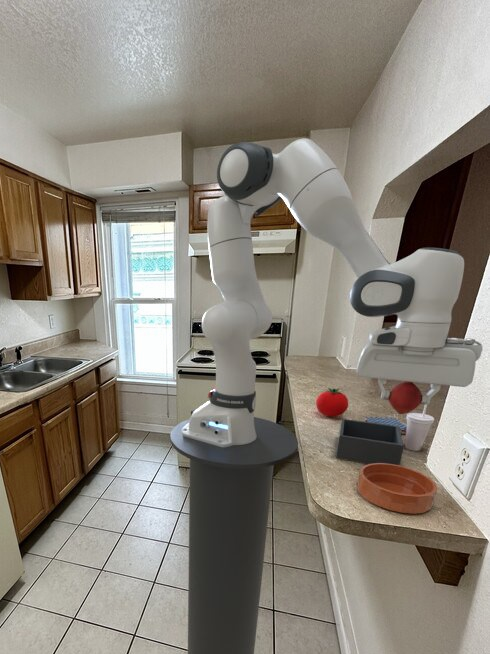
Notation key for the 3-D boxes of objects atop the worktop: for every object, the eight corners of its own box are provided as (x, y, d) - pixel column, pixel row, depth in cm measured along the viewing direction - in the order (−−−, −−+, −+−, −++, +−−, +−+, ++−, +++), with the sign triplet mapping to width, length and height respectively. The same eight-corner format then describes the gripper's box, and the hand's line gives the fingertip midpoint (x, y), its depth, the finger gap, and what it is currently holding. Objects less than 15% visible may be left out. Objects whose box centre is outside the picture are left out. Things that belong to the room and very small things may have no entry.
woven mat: (375, 433, 111) (376, 427, 111) (362, 421, 121) (363, 416, 120) (410, 435, 110) (412, 429, 109) (395, 422, 120) (396, 417, 119)
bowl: (356, 504, 76) (360, 486, 74) (357, 474, 88) (360, 458, 86) (437, 522, 70) (443, 503, 68) (426, 488, 81) (430, 470, 80)
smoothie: (425, 454, 97) (438, 406, 92) (398, 449, 101) (409, 402, 96) (426, 446, 102) (439, 400, 97) (400, 441, 106) (411, 396, 101)
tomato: (349, 421, 121) (354, 393, 118) (317, 420, 123) (321, 392, 120) (341, 411, 131) (346, 385, 127) (311, 410, 133) (315, 384, 129)
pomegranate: (404, 409, 80) (413, 374, 77) (423, 418, 74) (433, 381, 72) (379, 409, 80) (387, 375, 77) (396, 419, 74) (405, 382, 71)
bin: (335, 458, 96) (339, 435, 94) (338, 438, 108) (341, 418, 106) (398, 469, 90) (404, 445, 88) (393, 447, 102) (398, 426, 100)
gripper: (480, 337, 69) (460, 403, 74) (363, 331, 78) (351, 391, 83) (490, 341, 64) (467, 413, 69) (363, 335, 73) (351, 398, 78)
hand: (403, 401), depth 76 cm, fingers closed on pomegranate, 6 cm apart
